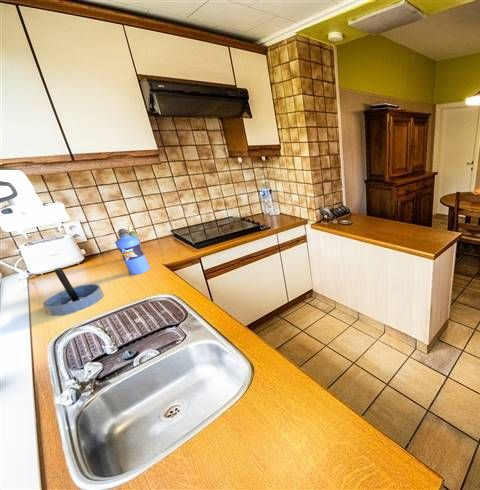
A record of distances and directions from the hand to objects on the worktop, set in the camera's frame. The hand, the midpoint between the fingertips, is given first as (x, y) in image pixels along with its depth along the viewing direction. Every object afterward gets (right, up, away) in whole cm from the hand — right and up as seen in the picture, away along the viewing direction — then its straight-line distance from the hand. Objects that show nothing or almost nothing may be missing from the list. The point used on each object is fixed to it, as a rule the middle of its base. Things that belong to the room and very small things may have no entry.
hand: (44, 234), depth 123 cm
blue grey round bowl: (+19, -32, -3) cm, 38 cm away
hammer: (+19, -31, -3) cm, 37 cm away
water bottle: (+22, -19, +26) cm, 39 cm away
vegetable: (+5, -11, +47) cm, 48 cm away
